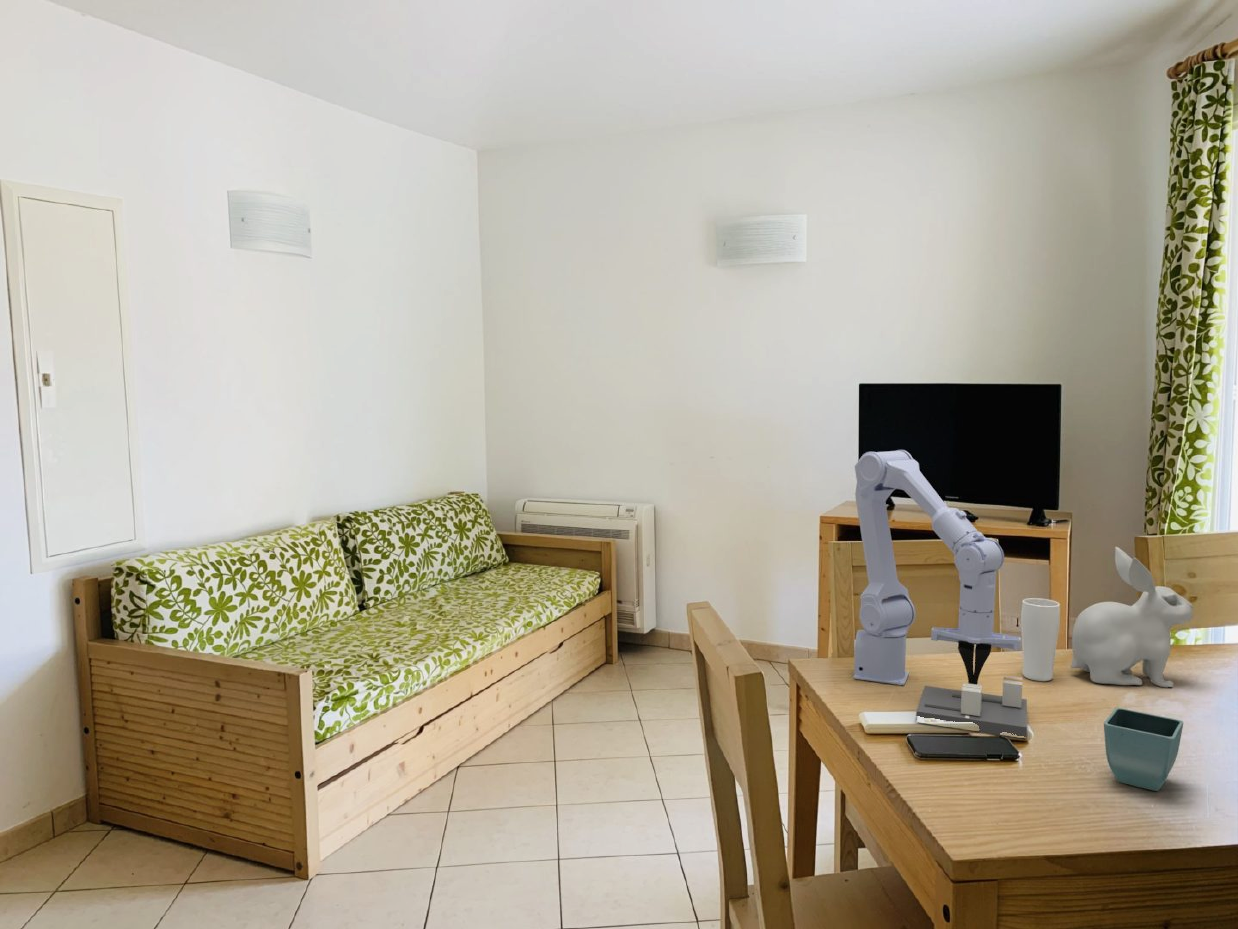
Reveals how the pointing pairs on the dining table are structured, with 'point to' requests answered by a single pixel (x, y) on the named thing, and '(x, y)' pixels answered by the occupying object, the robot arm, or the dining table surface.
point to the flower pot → (1141, 747)
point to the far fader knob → (1012, 691)
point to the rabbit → (1129, 630)
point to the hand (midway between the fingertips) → (972, 684)
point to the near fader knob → (971, 699)
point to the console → (990, 720)
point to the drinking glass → (1039, 637)
